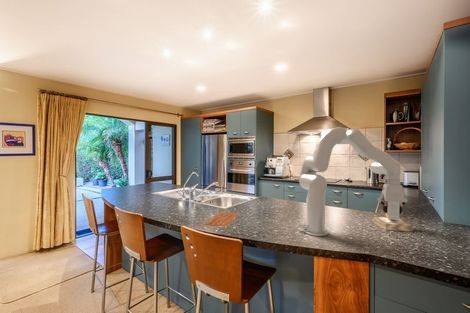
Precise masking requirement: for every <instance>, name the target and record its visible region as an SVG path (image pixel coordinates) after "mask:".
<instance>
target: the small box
mask: <svg viewBox="0 0 470 313" xmlns="http://www.w3.org/2000/svg"><path fill="white" fill-rule="evenodd" d="M399 208H400V202H398V201H388V202H387V213H385V212H384V213H385V214H384V215H385V217H386V218H388V219H393V220H399V218H400V213H399Z"/></svg>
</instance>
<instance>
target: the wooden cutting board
mask: <svg viewBox="0 0 470 313" xmlns="http://www.w3.org/2000/svg"><path fill="white" fill-rule="evenodd" d="M239 215H240V214H239V212H238V213H237V212H223V211H222V212H221V211H220V212H218V213H217V214H216V215H214V216H213V217H212V218H211V219H209V220H208V221H207V222H205V223H204V226H208V227H209V226H210V227H220V228H221V227H222V228H228V227H229V225H231V223H232V222H233V221H234V220H235V219H236V218H237V217H238V216H239Z"/></svg>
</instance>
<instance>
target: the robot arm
mask: <svg viewBox="0 0 470 313" xmlns="http://www.w3.org/2000/svg"><path fill="white" fill-rule="evenodd" d="M337 145H350V146H351V147H352V148H353V149H354V150H355V152H356V153H357V154H358V155H359V156H360V157H363V158H366V159H369V160H372V161H373V162H372V163H371V164H370V166H369V169H370V171H371V172H372V173H373V174H377V175H378V174H379V175H384V179H383V180H382V183H384V184H383V186H382V190H381V195H380V196H379V197H378V198H376V199H377V201H378V202H379V204H381V206H382V211H383V213H387V202H388V201H398V202H400V208H399V215H400V214H402V212H403V207H404V206H405V205H406V204H407V202H408V201H409V199H407V198H406V197H405V192H404V187H403V185H401V171H402V170H401V168H402V167H401V162H399V161H396V160H395V159H393V157H392V156H391V155H390V154H388V153H387V152H385V151H383V150H381V149H380V148H379V147H376V146H374V145H373V143H372V142H370V140H369V139H368V138H367V137H366V136H365V134H363V132H362V131H361V130H360V129H358V128H348V129H346V128H345V127H341V126H337V127H332V128H327V129H324V130H322V131H321V133H320V135H319V139H318V140H317V143H316V146H315V150H314V152H313V154H312V155H311V154H310V155H308V156H306V157H305V159H304V160H303V163H302V165H301V170H300V173H299V180H298V183H299V186H300V187H301V188H302V189H304V190H307V194H306V201H305V202H306V203H305V204H306V211H305V212H306V214H305V215H306V219H305V220H306V221H304V223H297V228H300V229H303V233H305V234H307V235H310V236H314V237H325V236H327V235H328V234H329V231H328V230H327V229H326V192H327V186H328V183H327V179H326V178H325V177H324V176H323V175H320V174H318V173H325V172H326V171H327V170H328V168H329V165H330V164H329V163H330V160H331V156H332V152H333V149H334V147H335V146H337Z"/></svg>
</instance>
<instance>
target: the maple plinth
mask: <svg viewBox="0 0 470 313" xmlns="http://www.w3.org/2000/svg"><path fill="white" fill-rule="evenodd" d="M373 223H374V224H375V225H377V226H378V227H380V228H382V229H383V230H385V231H396V232H397V231H398V232H399V231H400V232H414V224H412V223H410V222H408V221H405V220H403V219H402V218H400V217H399V220H393V219H388V218H387V217H386V216H385V217H383V216H382V217H381V216H380V217H379V216H374V217H373Z"/></svg>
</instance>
